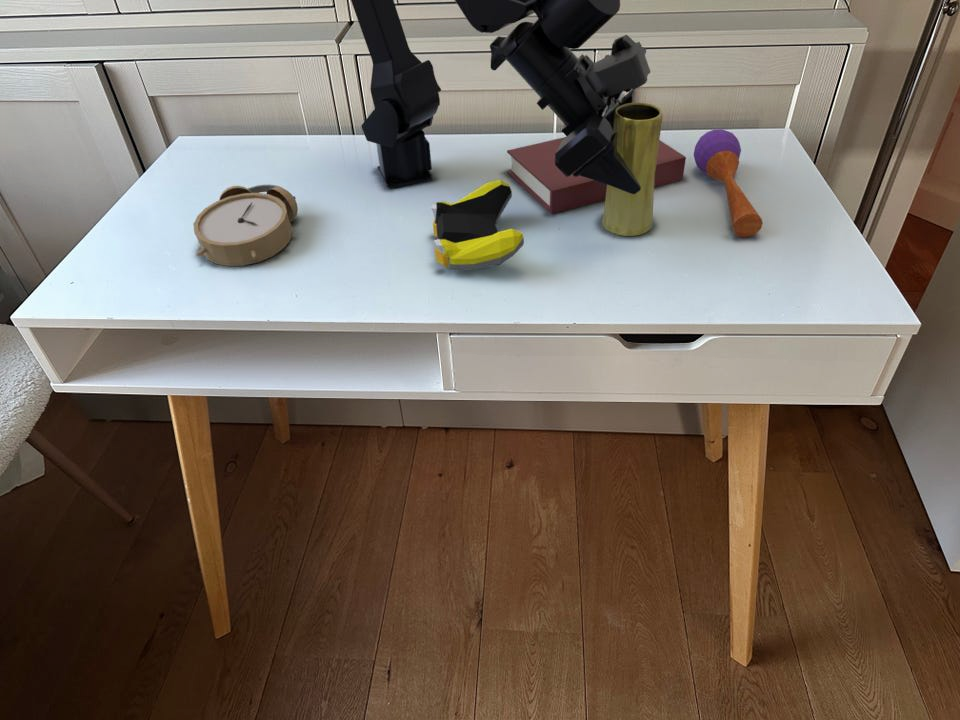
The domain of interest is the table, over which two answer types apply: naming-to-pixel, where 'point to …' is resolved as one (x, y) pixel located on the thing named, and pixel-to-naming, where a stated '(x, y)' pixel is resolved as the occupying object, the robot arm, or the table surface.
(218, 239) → the alarm clock
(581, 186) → the book
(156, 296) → the table surface
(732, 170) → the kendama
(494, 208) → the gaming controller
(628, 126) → the vase
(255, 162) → the table surface
